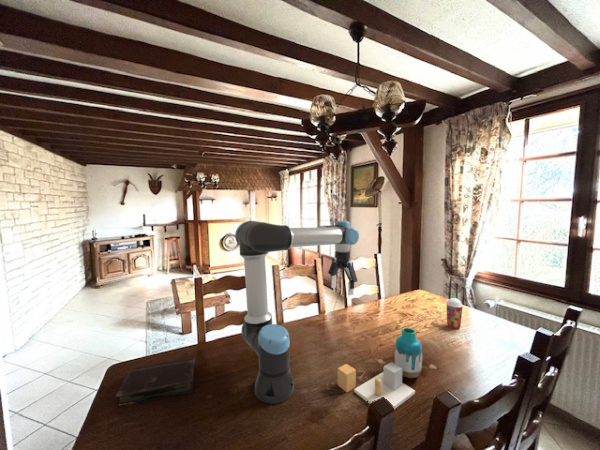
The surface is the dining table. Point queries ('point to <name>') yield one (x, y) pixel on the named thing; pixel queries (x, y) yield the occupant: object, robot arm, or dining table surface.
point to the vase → (408, 353)
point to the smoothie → (454, 312)
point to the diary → (157, 381)
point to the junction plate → (386, 386)
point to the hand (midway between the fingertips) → (341, 291)
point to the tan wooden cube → (346, 377)
